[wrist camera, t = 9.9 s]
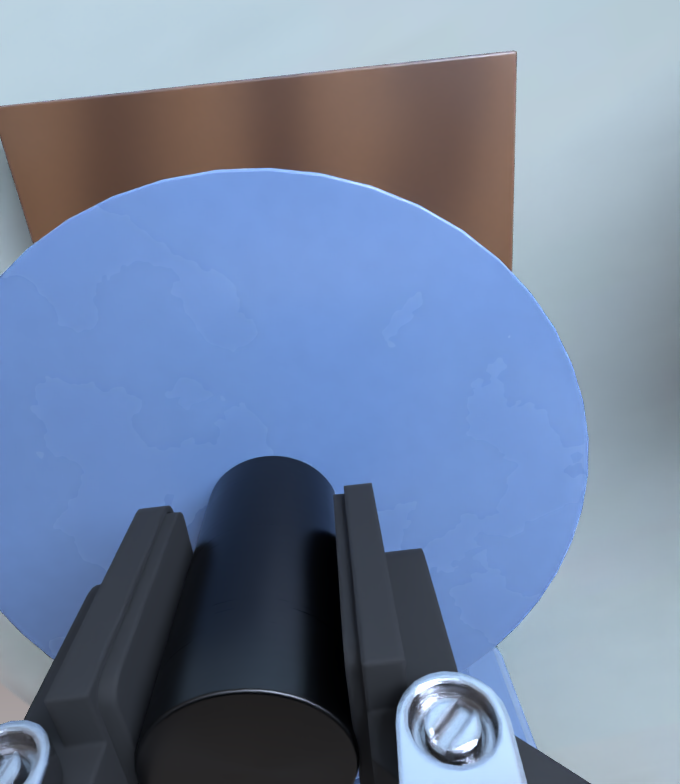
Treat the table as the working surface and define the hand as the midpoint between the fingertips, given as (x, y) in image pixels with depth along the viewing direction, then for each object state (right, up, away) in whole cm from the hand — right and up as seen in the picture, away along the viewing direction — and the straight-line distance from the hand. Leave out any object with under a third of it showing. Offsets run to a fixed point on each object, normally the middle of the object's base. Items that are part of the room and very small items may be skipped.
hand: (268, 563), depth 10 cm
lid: (0, +1, +2) cm, 2 cm away
